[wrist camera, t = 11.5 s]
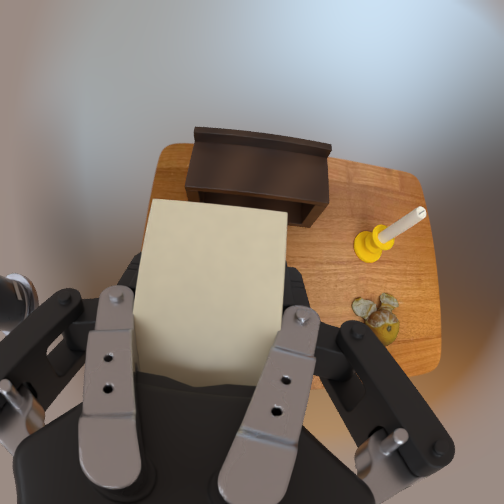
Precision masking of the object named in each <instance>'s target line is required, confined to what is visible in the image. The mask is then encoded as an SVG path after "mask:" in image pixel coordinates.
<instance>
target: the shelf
mask: <svg viewBox="0 0 504 504" xmlns="http://www.w3.org/2000/svg"><path fill="white" fill-rule="evenodd" d="M194 139H195V143H194V147H193V151H192V155H191V160H190V164H189V169H188V173H187V178H186V183H185V189H186V193H187V197H188V201H189V202H198V203H209V204H219V205H228V206H237V207H246V208H255V209H263V210H272V211H280V212H287V214H288V219H287V225H291V226H299V227H307V228H310V227H311V225H312V224H313V223H314V222H315V221H316V219H317V218H318V217H319V216H320V214H321V213H322V212H323V211H324V209H325V208H326V207H327V206H328V204H329V184H328V165H327V158H328V156H329V154H330V152H331V151H332V146H331V144H327V143H321V142H316V141H310V140H305V139H299V138H293V137H288V136H281V135H274V134H266V133H259V132H251V131H242V130H232V129H221V128H208V127H195V129H194Z"/></svg>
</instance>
